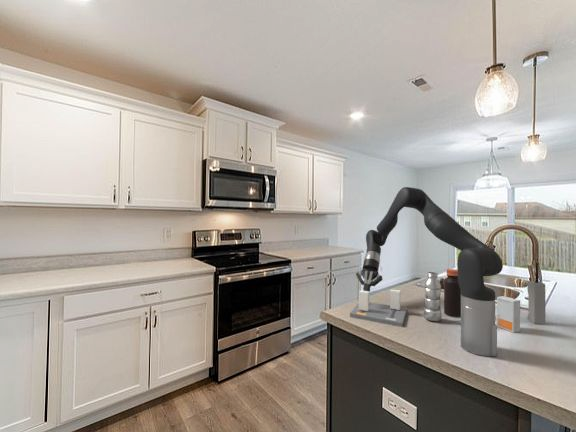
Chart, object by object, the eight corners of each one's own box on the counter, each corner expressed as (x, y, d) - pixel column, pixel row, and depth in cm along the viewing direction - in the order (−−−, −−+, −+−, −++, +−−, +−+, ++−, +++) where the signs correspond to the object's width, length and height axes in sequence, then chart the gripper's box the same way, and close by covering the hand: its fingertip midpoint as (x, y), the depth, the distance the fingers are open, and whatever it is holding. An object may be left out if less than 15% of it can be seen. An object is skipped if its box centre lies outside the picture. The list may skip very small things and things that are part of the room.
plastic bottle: (444, 323, 107) (444, 274, 107) (426, 322, 108) (426, 274, 108) (438, 318, 113) (438, 271, 113) (421, 316, 115) (421, 271, 115)
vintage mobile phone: (537, 320, 112) (537, 261, 112) (545, 325, 107) (545, 263, 107) (526, 319, 113) (527, 261, 113) (534, 323, 108) (534, 263, 108)
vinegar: (458, 318, 113) (458, 272, 113) (441, 314, 118) (441, 269, 118) (464, 315, 117) (464, 270, 117) (447, 311, 122) (447, 268, 122)
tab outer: (369, 309, 118) (369, 291, 118) (367, 311, 115) (367, 293, 116) (360, 307, 120) (360, 290, 120) (358, 309, 117) (358, 291, 117)
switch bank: (406, 311, 121) (406, 307, 121) (402, 326, 104) (402, 322, 104) (360, 303, 131) (360, 300, 131) (349, 316, 114) (349, 313, 114)
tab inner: (400, 307, 120) (400, 290, 120) (399, 309, 118) (399, 292, 118) (391, 306, 122) (391, 289, 122) (390, 308, 119) (390, 290, 120)
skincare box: (496, 326, 105) (496, 296, 105) (503, 325, 106) (503, 295, 106) (513, 333, 99) (513, 301, 99) (520, 331, 100) (520, 300, 101)
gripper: (357, 256, 134) (350, 286, 123) (384, 258, 127) (379, 290, 116) (359, 265, 138) (353, 294, 127) (386, 268, 132) (381, 298, 121)
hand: (366, 292), depth 122 cm, fingers closed
